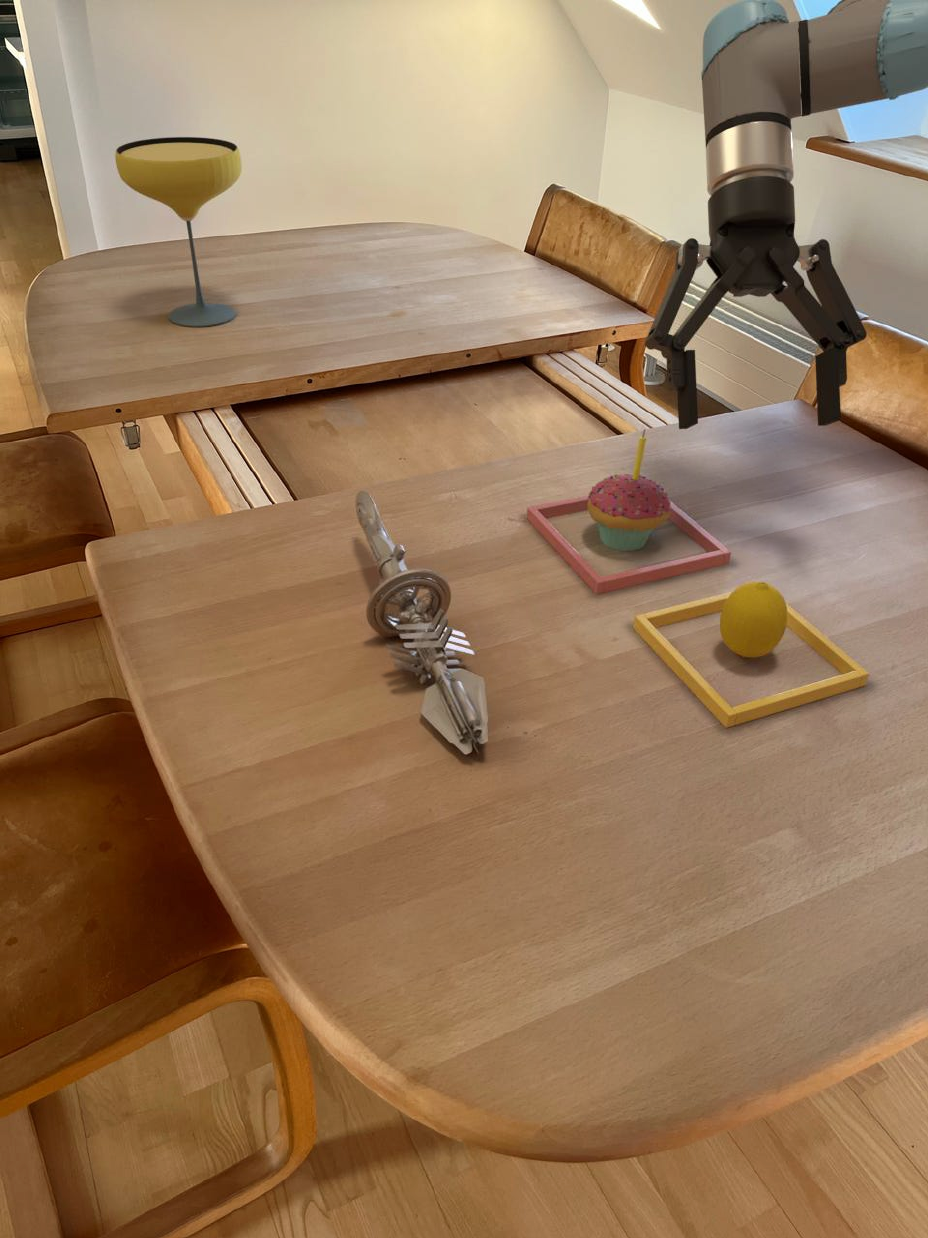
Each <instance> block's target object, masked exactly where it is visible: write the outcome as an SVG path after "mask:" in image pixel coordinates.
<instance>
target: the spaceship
mask: <svg viewBox="0 0 928 1238" xmlns="http://www.w3.org/2000/svg"><path fill="white" fill-rule="evenodd" d="M355 511H356V516H357V520H358V523H359V525H360V527H361V528H362V530H363V533H364V535H365V538H366V541H367V543H368V545H369V548H370V550H371V552H372V554H373V557H374V558H375V559H374V560H375V561H376V565H377V566H376V569H377V570H376V571H377V574H378V576H379V580H378V581H379V582H378V584H379V585H378V586H377V587H375V589H374V590H373V591H372V593H371V595H370V597H369V598H368V600H367V601H368V602H367V605H366V609H365V610H366V611H365V613H366V614H365V615H366V620H367V622H368V624H369V626H370V627H371V629H372V630H373V631H374V632H376V633H377V634H378V635H381V636H383V637H386V638H393V637H397V636H399V637H400V639H401V640H403V639H407V640H408V639H412V640H413V642H403V644H402V645H403V647H400V646H396V645H392V644H388V643H387V644H385V646H386V648H387V649H388V650H391V651H394V652H398V653H400V654H401V653H402V654H404V655H408V656H404V655H400V654H396V653H390V652H389V655H390V658H391V659H395V660H398V661H402V662H405V663H407V664H408V663H409V664H410V665H407V664H403V663H398V662H393V666H394V667H395V668H398V669H402V670H405V671H409V672H412V673H414V674H415V676H416V677H420V678H419V683H420V684H421V685H425V684H426V682H427V681H428V679H431V677H434V678H435V681H434V684H432V685H430V686H428V687H427V688H425V691H424V696H423V700H422V704H421V709H420V714H421V715H422V717H424V718H425V719H426V720H427V721H428V722H429V723H430V724H431V726H433V727H434V728H435V730H437V731H438V732H439V733H440V735H442V736H443V737H444V738H445V739H446V740H447V741H448V742H449V743H450V744H453V745H454V746H455V747H456V748H457V749H458V750H460V752H461V753H462V754H464V755H468V754H470V753H472V752H473V748H474V750H475V751H476V752H477V754H478V755H480V753H479V751H478V748H477V746H476V744H478V743H479V744H480V745H483V744H486V743H487V742H488V741H489V732H488V723H489V713H488V703H487V695H486V693H487V692H486V686H485V685H486V684H485V678H484V677H482V676H480V675H478V674H476V673H474V672H471V671H470V670H466V669H465V668H448V667H447V666H456V665H461V663H460V661H459V659H448V657H452V656H453V657H454V656H456V653H455V651H458V652H461V653H465V654H470V655H473V656H474V655H476V654H475V652H474V650H472V649H469V648H466V647H463V646H460V645H457V644H461V645H465V646H467V647H471V645H470V642H469V641H467V640H464V639H461V638H458V637H454V636H453V635H455V636H459V637H462V638H466V635H465V633H464V632H462V631H458V630H455V629H453V627H452V626H448V623H449V620H448V617H445V615H446V614H447V612H448V610H449V608H450V605H451V600H452V590H451V586H450V584H449V582H448V581H447V580H446V578H444V576H442V575H441V574H439V573H438V572H435V571H434V570H431V569H425V568H412V569H408V567H407V566H406V565H407V563H406V560H405V554H406V550H405V548H404V546H403V545H402V544H394V542H393V541H392V539H391V537H390V535H389V532H388V531H387V529H386V527H385V525H384V524H383V522H382V518H381V514H380V512H379V510H378V508H377V505H376V502H375V500H374V499H373V498H372V496H371V495H370V494H369V493H368V492H367V491H364V490H360V491H358V492H357V494H356V497H355ZM420 590H427V591H428V592H426V593H425V594H423V595H421V596H419V597H417V596H418V594H419V591H420ZM424 598H426V599H424ZM428 600H429V601H428ZM426 601H428V603H427V602H426ZM388 605H391V606H392V605H393V606H397V607H398V609H395V610H394V611H391V612H388V611H387V610H388ZM387 612H388V613H387ZM396 613H398V614H397V615H395V614H396ZM392 615H393V616H392ZM396 617H397V618H396ZM450 642H452V643H450ZM453 643H457V644H453ZM412 649H415V650H412ZM447 649H449V650H447ZM409 656H411V657H409ZM412 657H413V658H412Z"/></svg>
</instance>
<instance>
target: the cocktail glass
mask: <svg viewBox="0 0 928 1238" xmlns="http://www.w3.org/2000/svg"><path fill="white" fill-rule="evenodd" d="M114 154H115V155H114V158H115V164H116V169H117V172H118V175H119V177H120V179H121V180H122V182H123V183H125V185H127V186H128V187H129V188H131V189H132V190H133V191H135V192H136V193H139V194H141V195H143V196H145V197H146V198H149V199H151V200H154V201H156V202H158V203H161V204H163V205H165V206H167V207H169V208H170V209H171V210H172V211H173V212H174V213H175V214H176V215H177V216H178V217H179V219H181V220H182V221H184V222H185V223H186V229H187V235H188V241H189V248H190V255H191V261H192V269H193V277H194V285H195V303H189V304H185V305H182V306H179V307H176V308H174V309H172V310H171V311H170V312H169V313H168V320H169V321H170V322H171V323H172V324H174V325H177V326H181V327H187V328H206V327H213V326H219V325H222V324H225V323H228V322H230V321H232V320H234V318H235V317H236V315H237V311H236V309H235V308H234V307H232V306H230V305H227V304H223V303H217V302H206V301H205V298H204V294H203V291H202V287H201V281H200V273H199V268H198V263H197V257H196V250H195V244H194V237H193V229H192V222H191V221H193V220H194V219H195V218H196V217H197V216H198V214H199V211H200V209H201V208H202V207H203V206H204V205H205V204H207V203H208V202H210V201H211V200H213V199H215V198H216V197H218V196H220V195H221V194H223V193H225V192H226V191H228V190H229V189H230V188H231V187H232V186H233V185H235V183H236V182H237V181H238V179H239V178H240V177H241V173H242V168H243V167H242V158H241V152H240V149H239V148H238V145H236V143H234V142H231V141H228V140H224V139H218V138H210V137H200V136H199V137H197V136H170V137H169V136H168V137H157V138H155V137H154V138H149V139H148V138H147V139H141V140H135V141H131V142H127V143H124V144H122V145H119V146H118V147H117V148H116V150H115V153H114Z"/></svg>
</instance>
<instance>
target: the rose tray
mask: <svg viewBox="0 0 928 1238" xmlns="http://www.w3.org/2000/svg"><path fill="white" fill-rule="evenodd" d="M588 496H589V495H585V496H579V497H574V498H569V499H563V500H558V501H553V502H548V503H544V504H538V505H533V506H528V507H527V508H526V520H528V522H529V523H530V524H531V525H532V526H533V527H534V528H535V530H536V531H538V533H539V534H540V535H541V536H542V537H543V538H544V539H545V540H546V541H547V542H548V544H550V546H551V547H552V548H553V549H554V550H555V551H556V552H557V553H558V555H560V556H561V557H562V559H563V560H564V561H565V562H566V563H567V565H569V566H570V567H571V569H572V570H574V572H575V573H576V574H577V575H578V576H579V577H580V578H581V580H583V582H585V584H586V585H587V586H588V587H589V588H590V589H591V591H593V592H594V593H595V594H596V595H600V594H604V593H608V592H609V593H610V592H613V591H617V590H621V589H625V588H629V587H635V586H638V585H642V584H646V583H647V584H648V583H651V582H654V581H660V580H664V579H669V578H672V577H676V576H680V575H684V574H689V573H693V572H698V571H702V570H706V569H710V568H715V567H718V566H722V565H727V564H729V563H730V559H731V555H732V551H731V550H729V549H728V548H727V547H726V546H725V545H723V544H722V543H721V542H720V541H718V540H717V538H715V537H714V536H713V535H712V534H710V533H709V532H708V531H707V530H706V529H704V528H703V527H702V526H700V525H699V524H698V523H697V522H696V521H695V520H694V519H692V518H691V517H690V516H689V515H688V514H687V513H685V512H684V511H683V510H682V509H680V508H679V507H678V506H677V505H676V504H675V503H673V502H672V501H671V500H670V499H669V501H670V507H671V509H670V515H669V518H668V520H670V521H671V522H673V524H675V525H676V526H677V527H678V528H679V529H681V530H682V531H683V532H684V533H685V534H686V535H687V536H689V538H691V539H692V540H693V541H694V542H695V543H697V544H698V545H699V546H700V547H701V548H703V549H704V550H705V553H701V554H696V555H692V556H688V557H685V558H679V559H675V560H671V561H666V562H662V563H657V564H653V565H648V566H645V567H640V568H636V569H631V570H627V571H622V572H618V573H613V574H609V575H606V576H605V575H604V576H601V575H600V574H599V573H598V572H597V571H596V570H595V569H594V568H593V567H592V566H591V565H590V564H589V563H588V561H587V560H585V558H584V557H583V556H581V554H579V552H578V551H577V550H576V549H575V548H574V547H573V546H572V545H571V544H570V543H569V541H567V540H566V539H565V537H563V535H562V534H561V533H560V532H559V531H558V530H557V529H556V528H555V527H554V526H553V525H552V524H551V523H550V522H549V521H548V520H547V519H549V518H554V517H558V516H559V517H560V516H564V515H570V514H574V513H579V512H583V511H588V508H587V503H588V500H589V498H588Z"/></svg>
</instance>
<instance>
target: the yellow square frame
mask: <svg viewBox="0 0 928 1238" xmlns="http://www.w3.org/2000/svg"><path fill="white" fill-rule="evenodd" d="M732 592H733V591H729V592H726V593H722V594H718V595H713V596H710V597H706V598H701V599H697V600H693V601H689V602H686V603H682V604H676V605H674V606H669V607H666V608H661V609H658V610H653V611H650V612H645V613H642V614H637V615H635V616H634V619H633V624H632V628H633V630H634V631H635V632H636V633H637V634H638V635H639V636H640V637H641V638H642V640H644V641H645V643H646V644H648V646H649V647H650V648H651V649H652V650H653V651H654V652H655V653H656V654H657V655H658V657H659V658H661V660H662V661H663V662H664V663H665V665H667V667H669V668H670V669H671V670H672V672H673V673H674V674H675V675H676V676H677V677H678V678H679V679H680V680H681V682H683V683H684V685H685V686H686V687H687V688H688V689H689V690H690V691H691V692H692V693H693V694H694V695H695V696H696V697H697V698H698V700H699V701H700V702H701V703H702V704H703V705H704V706H705V707H706V708H707V709H708V711H709V712H710V713H711V714H712V715H713V716H714V717H715V718H716V719H717V720H718V721H719V722H720V723H721V724H722V726H723V727H724V728H731V727H733V726H737V725H741V724H744V723H747V722H750V721H753V720H757V719H761V718H763V717H766V716H770V715H774V714H776V713H780V712H784V711H786V710H790V709H793V708H796V707H799V706H803V705H806V704H809V703H813V702H816V701H819V700H822V699H825V698H829V697H833V696H835V695H839V694H842V693H845V692H846V693H847V692H848V691H852V690H856V689H858V688H862V687H865V686H866V683H867V681H868V678H869V675H870V673H869V672H868V670H866V669H864V668H863V667H862V666H861V665H859V663H858V662H857V661H855V660H854V659H853V658H851V657H850V656H849V655H848V654H847V653H846V652H845V651H843V650H842V649H841V648H840V647H839V646H838V645H836V644H835V643H834V642H833V641H832V640H830V639H829V638H828V637H827V636H826V635H825V634H823V633H822V632H821V631H820V630H818V629H817V628H816V627H815V626H814V625H813V624H812V623H810V622H809V621H808V620H806V618H805V617H803V616H802V615H801V614H799V613H798V612H797V611H796V610H795V609H794V608H792V607H791V606H790V604H788V603H786V606H787V623H786V627H788V628H789V629H790V630H791V631H792V632H794V633H795V634H796V635H797V636H798V637H800V638H801V639H802V641H804V642H805V643H806V644H807V645H808V646H809V647H811V648H812V649H813V650H814V651H816V652H817V653H818V654H819V656H821V657H822V658H823V659H825V660H826V661H827V662H828V663H829V664H830V665H832V666H833V667H834V668H835V669H836V670H837V671H838V672H839V673H841V674H839V675H836V676H833V677H829V678H826V679H823V680H819V681H816V682H813V683H809V684H806V685H803V686H799V687H796V688H793V689H792V688H791V689H788V690H786V691H782V692H780V693H775V694H772V695H768V696H765V697H762V698H759V699H755V700H752V701H749V702H746V703H742V704H738V705H735V706H731V705H730V704H729V703H727V701H726V700H725V699H724V698H723V697H722V696H721V695H720V694H719V693H718V692H717V691H716V690H715V689H714V688H713V687H712V685H711V684H710V683H709V682H708V681H706V679H705V678H704V677H703V676H702V675H701V674H700V673H699V672H698V671H697V670H696V669H695V668H694V667H693V666H692V665H691V664H690V663H689V662H688V661H687V659H685V657H684V656H683V655H682V654H681V653H680V651H678V650H677V649H676V648H675V647H674V646H673V645H672V644H671V643H670V642H669V641H668V640H667V639H666V638H665V636H663V634H661V632H660V631H658V629H657V628H660V627H663V626H667V625H671V624H675V623H680V622H683V621H686V620H691V619H694V618H698V617H702V616H706V615H710V614H714V613H718V612H722V609H723V607H724V605H725V602H726V600H727V599H728V597H729V596H730V594H731V593H732Z"/></svg>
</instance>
